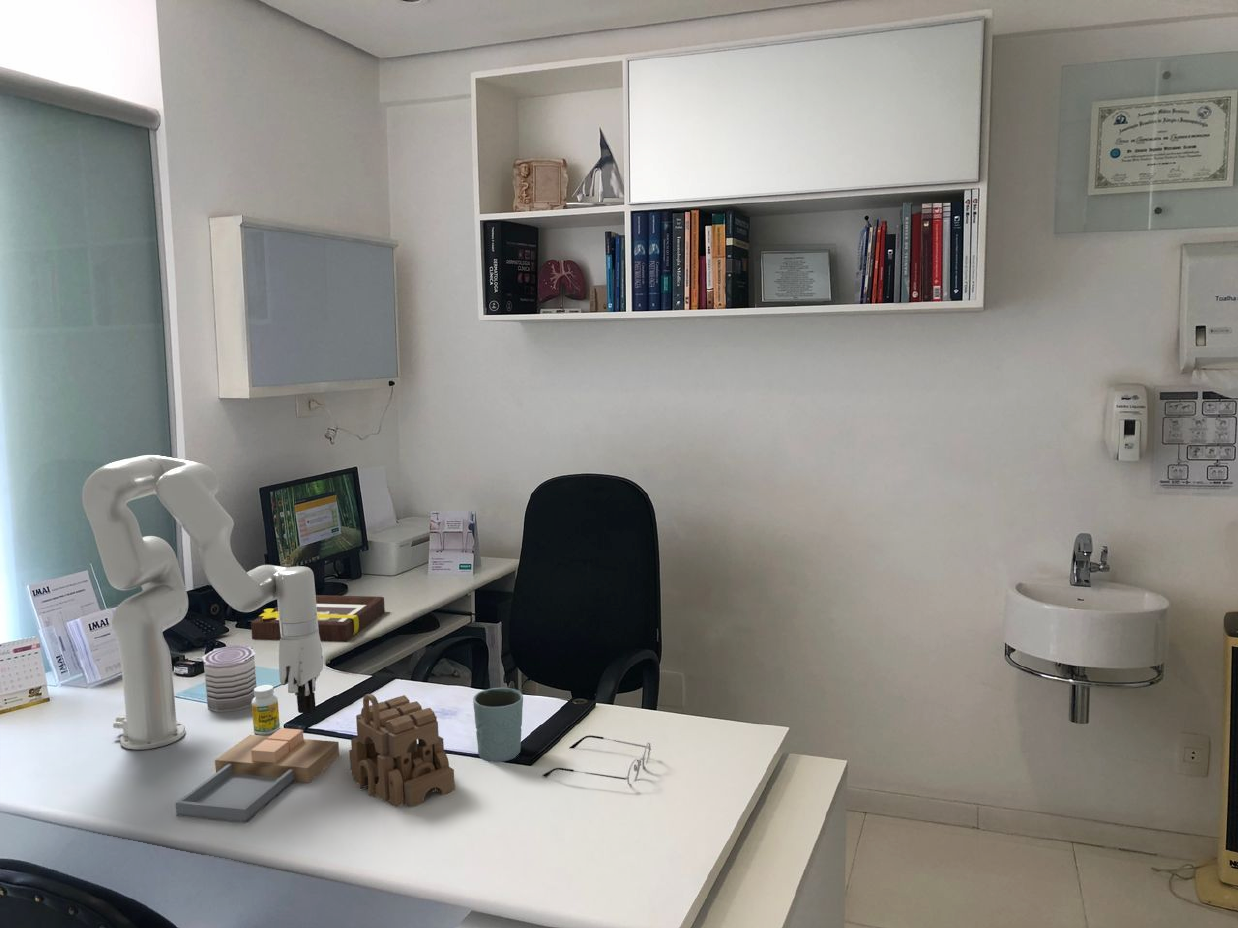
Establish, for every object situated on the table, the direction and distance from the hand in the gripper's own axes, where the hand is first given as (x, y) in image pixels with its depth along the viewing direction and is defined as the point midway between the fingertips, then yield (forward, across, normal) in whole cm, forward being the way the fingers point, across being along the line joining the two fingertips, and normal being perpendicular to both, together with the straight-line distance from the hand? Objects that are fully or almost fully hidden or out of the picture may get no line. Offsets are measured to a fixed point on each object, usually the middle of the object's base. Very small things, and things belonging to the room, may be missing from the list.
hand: (307, 711), depth 205 cm
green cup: (+8, -2, +41) cm, 42 cm away
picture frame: (+7, -76, -40) cm, 86 cm away
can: (+6, -17, -30) cm, 35 cm away
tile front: (+4, +13, -1) cm, 14 cm away
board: (+7, +11, -1) cm, 13 cm away
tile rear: (+4, +8, -1) cm, 9 cm away
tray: (+7, +25, -1) cm, 26 cm away
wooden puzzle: (+8, +12, +26) cm, 30 cm away
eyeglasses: (+9, +1, +63) cm, 63 cm away
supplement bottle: (+7, -4, -13) cm, 15 cm away
